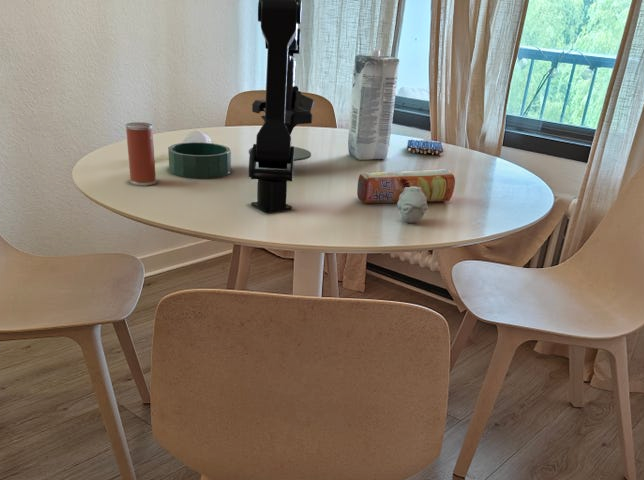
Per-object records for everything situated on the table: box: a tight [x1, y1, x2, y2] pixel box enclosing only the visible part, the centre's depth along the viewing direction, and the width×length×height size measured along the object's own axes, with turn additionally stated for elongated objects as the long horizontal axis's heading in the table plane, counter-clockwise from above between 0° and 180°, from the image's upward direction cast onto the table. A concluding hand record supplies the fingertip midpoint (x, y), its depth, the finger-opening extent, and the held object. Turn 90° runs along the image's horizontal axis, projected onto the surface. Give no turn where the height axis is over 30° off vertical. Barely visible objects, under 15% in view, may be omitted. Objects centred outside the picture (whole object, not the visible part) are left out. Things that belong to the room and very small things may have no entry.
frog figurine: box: [396, 186, 428, 224], centre depth 130 cm, size 6×7×7 cm
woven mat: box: [406, 139, 444, 156], centre depth 191 cm, size 10×11×2 cm
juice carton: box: [347, 50, 400, 161], centre depth 174 cm, size 9×10×27 cm
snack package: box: [356, 168, 456, 204], centre depth 143 cm, size 21×7×7 cm, turn 105°
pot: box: [167, 142, 232, 180], centre depth 157 cm, size 15×15×5 cm
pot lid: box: [248, 146, 312, 162], centre depth 162 cm, size 16×16×6 cm
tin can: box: [125, 121, 157, 187], centre depth 143 cm, size 6×6×12 cm
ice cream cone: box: [181, 130, 212, 143], centre depth 170 cm, size 6×6×15 cm
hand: (280, 147), depth 162 cm, fingers closed on pot lid, 3 cm apart
